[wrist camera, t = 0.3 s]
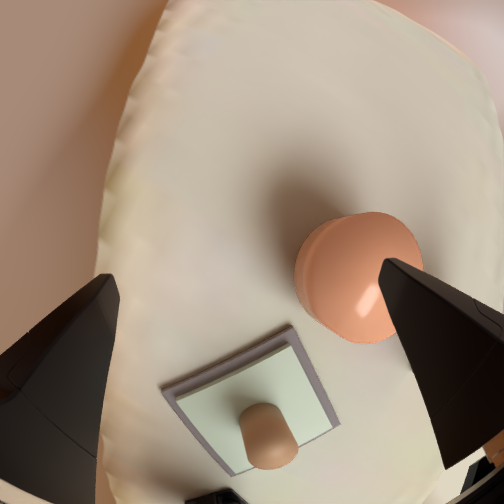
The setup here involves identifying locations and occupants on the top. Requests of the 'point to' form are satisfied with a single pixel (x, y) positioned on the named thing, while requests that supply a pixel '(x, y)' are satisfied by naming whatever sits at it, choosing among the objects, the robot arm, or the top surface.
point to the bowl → (352, 273)
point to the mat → (238, 362)
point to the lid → (258, 412)
